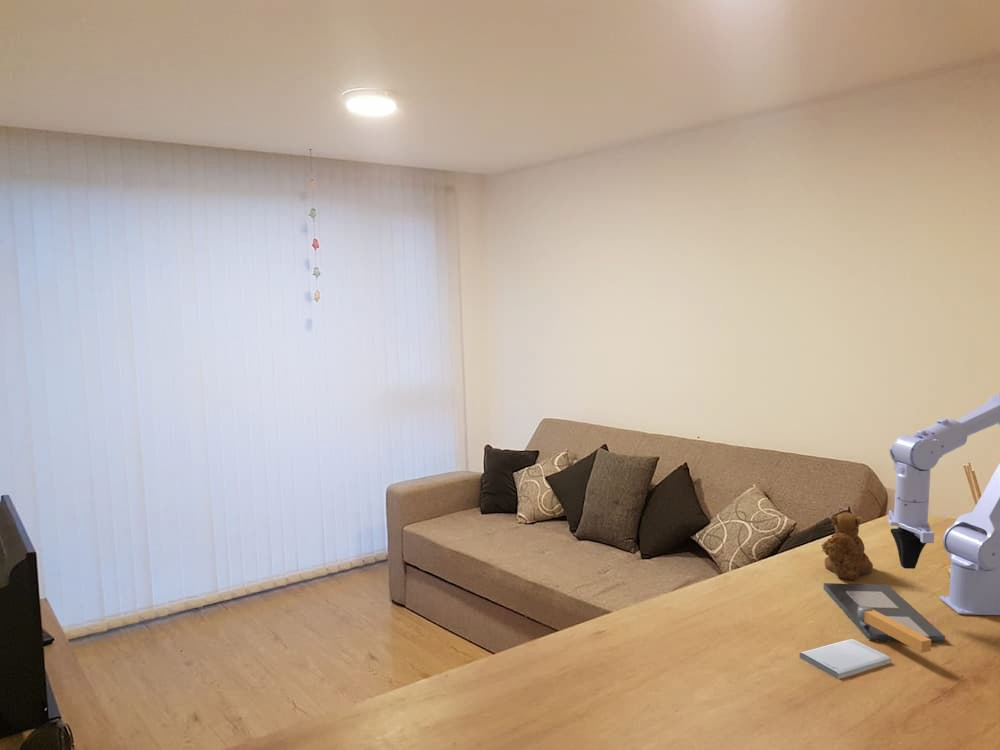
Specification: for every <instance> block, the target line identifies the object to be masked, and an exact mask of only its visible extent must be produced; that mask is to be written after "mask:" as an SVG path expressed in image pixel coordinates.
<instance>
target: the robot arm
mask: <svg viewBox="0 0 1000 750" xmlns="http://www.w3.org/2000/svg"><path fill="white" fill-rule="evenodd" d="M997 424H998V425H999V426H1000V391H999V392H998V393H996V394H993V395H991V396H990V397H989V399H988V401H987V402H985V403H984V404H982V405H981V406H979V407H977V408H975V409H974V410H972V411H970V412H968V413H966V414H965V415H962V417H960V418H958V419H957V420H955V419H953V418H943V417H941V418H939V419H937V420H936V423H935V424H933V425H931V426H929V427H927V428H925V429H919V430H916V433H915V434H913V435H909V434H905V435H904V434H903V435H902V436H900V437H898V438H897V439H895V441H894V442H893V444H892V446H891V448H890V449H889V456H890V458H891V460H892V461H893V463H894V468H893V469H894V470H895V487H894V489H895V490H894V508H893V510H892V509H890V510H888V519H887V524H888V525H889V526H893V527H894V526H895V527H898V528H890V533H891V535H892V537H893V539H894V542H895V546H896V548H897V552H898V557H899V562H900V566H901V567H902V568H903V569H905V570H907V569H911V570H915V569H916V567H917V564H918V562H919V558H920V555H921V553H922V551H923V549H924V547H925V546H926V545H927V544H934V542H935V533H934V531H932V528H931V526H930V523H929V522H928V521H929V519H928V518H929V504H930V503H929V502H930V500H929V499H930V482H931V469H934V467H935V466H937V464H938V462H939V460H940V458H943V456H945V455H947V454H948V453H951V452H953V451H955V450H957V449H958V448H961V447H963V446H965V444H967V441H968V436H971V435H973V434H976V433H978V432H980V431H983V430H986V429H987V428H991V427H992V426H995V425H997ZM942 545H943V548H944V550H945V551H946V552H947V553H948V559H950V561H951V562H950V577H949V578H950V579H949V592H948V593H949V595H940V596H939V599H940V600H941V601H943V602H944V603H945V604H946V605H947V606H949V607H950V608H951V609H952V610H953V611H955V612H956V613H957V614H959V615H972V616H973V615H975V616H978V615H979V616H1000V462H999V464H998V465H997V466H996V468H995V470H994V472H993V474H992V476H991V478H990V480H989V481H988V483H987V485H986V487H985V489H984V490H983V492H982V493H981V496H980V498H978V501H977V503H976V504H975V507H974V508H973V510H972V511H969V512H967V513H964V514H961V515H959V516H958V517H957V519H956V520H955V522H954V523H953V524H952V525H951V526H949V527H948V528H947V529H946V531H945V532H944V534H943V536H942Z"/></svg>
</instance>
